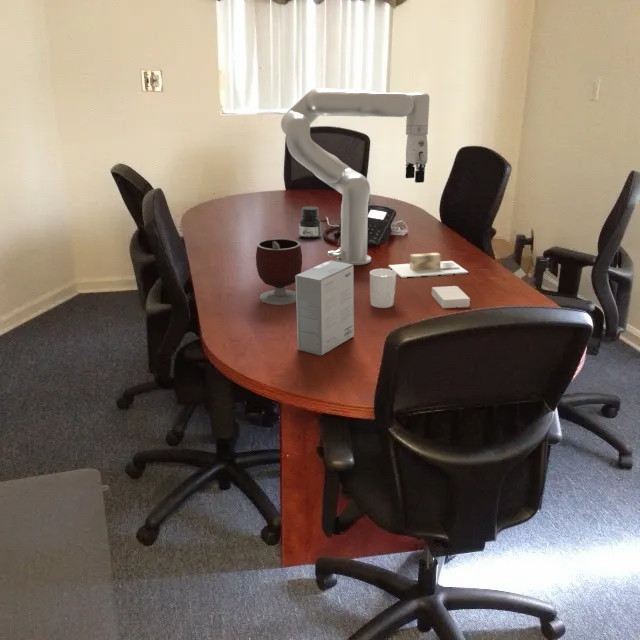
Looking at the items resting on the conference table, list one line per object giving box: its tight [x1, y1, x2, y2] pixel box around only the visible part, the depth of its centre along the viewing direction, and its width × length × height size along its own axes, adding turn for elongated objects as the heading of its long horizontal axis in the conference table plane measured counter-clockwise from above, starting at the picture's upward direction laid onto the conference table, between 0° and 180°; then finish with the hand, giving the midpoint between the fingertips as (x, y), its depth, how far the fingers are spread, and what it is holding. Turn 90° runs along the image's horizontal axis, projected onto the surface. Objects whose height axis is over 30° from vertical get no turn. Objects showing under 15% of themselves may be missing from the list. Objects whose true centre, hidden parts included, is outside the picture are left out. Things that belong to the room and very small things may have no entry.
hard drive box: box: [295, 260, 355, 357], centre depth 170 cm, size 16×8×20 cm, turn 145°
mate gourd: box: [255, 238, 303, 306], centre depth 202 cm, size 16×14×20 cm
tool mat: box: [388, 260, 469, 279], centre depth 233 cm, size 24×14×1 cm, turn 103°
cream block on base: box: [409, 252, 459, 271], centre depth 233 cm, size 16×6×5 cm, turn 103°
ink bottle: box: [298, 205, 322, 239], centre depth 276 cm, size 10×9×12 cm
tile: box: [431, 285, 471, 309], centre depth 203 cm, size 8×3×12 cm
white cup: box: [369, 268, 397, 309], centre depth 199 cm, size 8×8×10 cm
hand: (414, 180), depth 239 cm, fingers open, 9 cm apart
